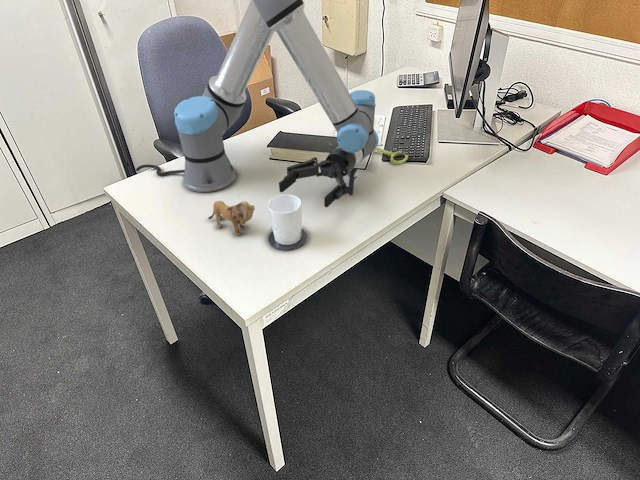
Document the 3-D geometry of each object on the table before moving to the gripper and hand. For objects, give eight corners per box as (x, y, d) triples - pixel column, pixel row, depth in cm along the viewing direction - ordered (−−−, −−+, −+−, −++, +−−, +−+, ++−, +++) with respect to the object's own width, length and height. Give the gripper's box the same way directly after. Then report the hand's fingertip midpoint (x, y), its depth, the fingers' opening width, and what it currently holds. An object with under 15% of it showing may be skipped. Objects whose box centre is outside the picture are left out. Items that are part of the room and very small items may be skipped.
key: (371, 150, 141) (372, 144, 140) (409, 155, 138) (409, 149, 137) (366, 160, 136) (367, 154, 135) (405, 166, 133) (406, 160, 131)
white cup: (299, 248, 102) (296, 214, 96) (267, 245, 104) (263, 211, 97) (306, 229, 108) (304, 195, 102) (276, 226, 110) (273, 193, 103)
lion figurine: (260, 228, 110) (256, 198, 104) (249, 239, 106) (244, 210, 101) (214, 214, 115) (207, 186, 109) (202, 225, 111) (194, 196, 106)
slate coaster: (260, 242, 105) (260, 241, 105) (283, 222, 112) (283, 221, 111) (292, 255, 101) (292, 254, 101) (314, 233, 107) (314, 232, 107)
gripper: (383, 181, 117) (345, 221, 104) (307, 160, 128) (264, 194, 114) (385, 157, 113) (346, 195, 99) (306, 137, 123) (261, 169, 109)
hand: (302, 195), depth 107 cm, fingers open, 13 cm apart
